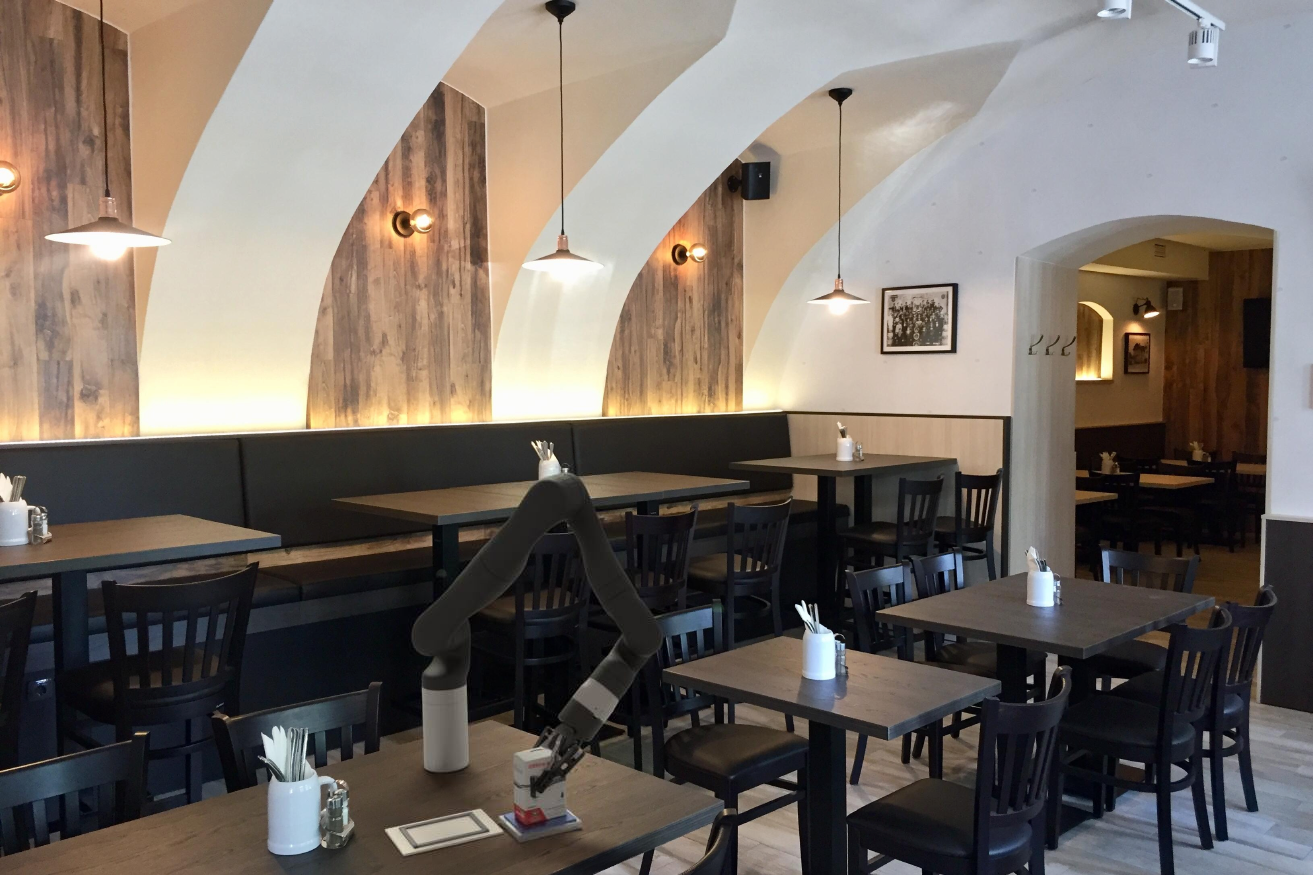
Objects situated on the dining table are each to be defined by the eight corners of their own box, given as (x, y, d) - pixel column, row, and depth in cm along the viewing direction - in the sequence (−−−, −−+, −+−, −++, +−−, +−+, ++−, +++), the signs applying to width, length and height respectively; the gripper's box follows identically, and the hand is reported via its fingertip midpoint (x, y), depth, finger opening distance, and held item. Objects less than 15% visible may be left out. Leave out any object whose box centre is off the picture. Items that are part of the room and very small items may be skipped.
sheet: (385, 831, 191) (385, 827, 191) (480, 810, 200) (480, 807, 200) (403, 856, 181) (403, 852, 181) (503, 833, 189) (503, 829, 189)
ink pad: (498, 822, 194) (498, 814, 194) (559, 809, 200) (559, 800, 200) (519, 842, 186) (519, 833, 186) (581, 827, 191) (581, 819, 191)
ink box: (525, 826, 189) (523, 760, 188) (513, 817, 193) (511, 752, 192) (568, 814, 193) (566, 750, 193) (555, 806, 197) (553, 743, 197)
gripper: (559, 688, 202) (501, 762, 196) (592, 707, 189) (531, 787, 184) (585, 711, 205) (529, 785, 199) (619, 731, 192) (560, 810, 187)
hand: (530, 785), depth 192 cm, fingers closed on ink box, 5 cm apart
